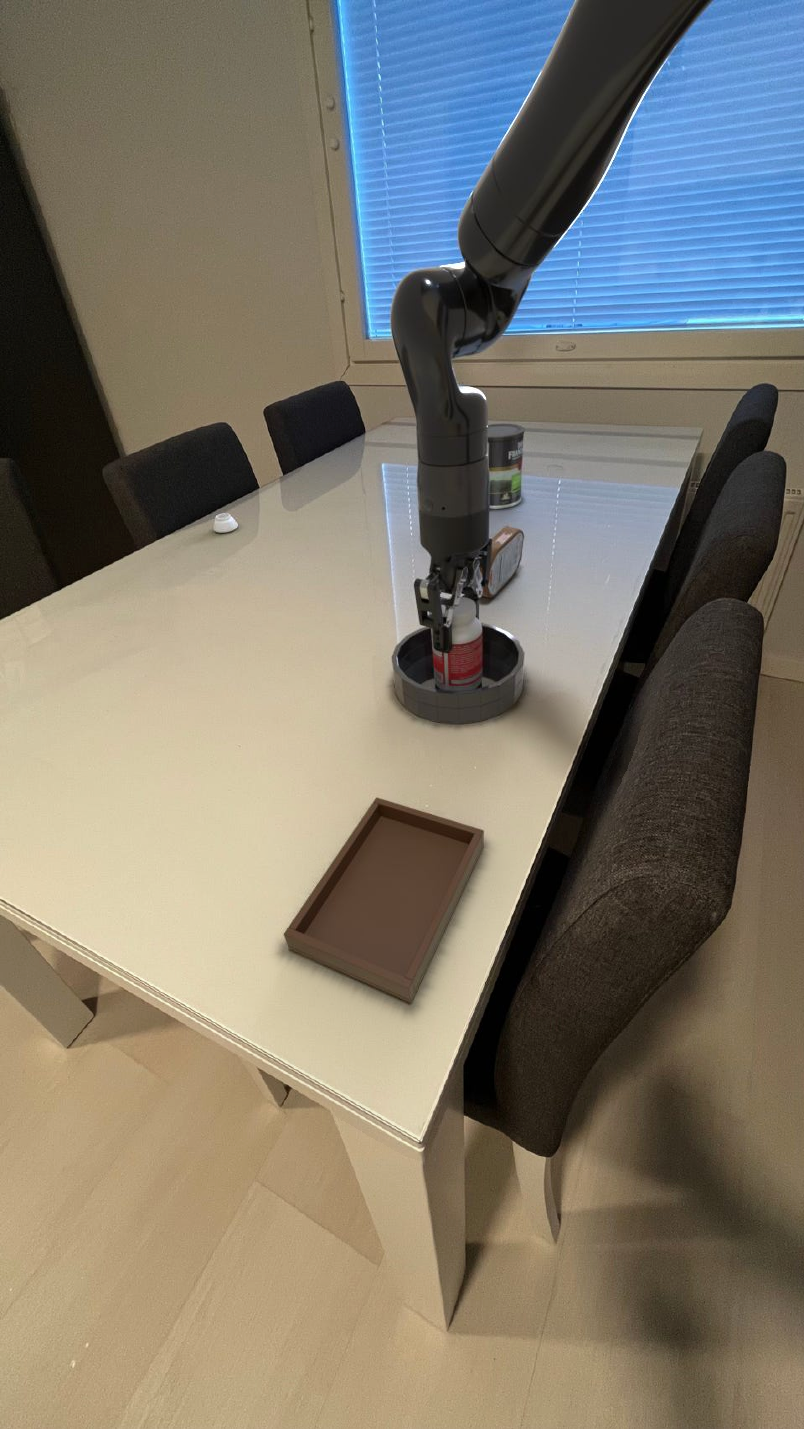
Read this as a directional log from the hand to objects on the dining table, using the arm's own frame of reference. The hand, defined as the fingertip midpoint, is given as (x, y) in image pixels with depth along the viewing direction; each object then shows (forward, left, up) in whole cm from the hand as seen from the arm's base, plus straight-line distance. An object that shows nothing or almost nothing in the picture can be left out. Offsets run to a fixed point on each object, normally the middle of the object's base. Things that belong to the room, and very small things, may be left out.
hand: (457, 636), depth 74 cm
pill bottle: (0, 0, -7) cm, 7 cm away
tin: (+14, -24, -7) cm, 29 cm away
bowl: (0, 0, -7) cm, 7 cm away
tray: (-18, +27, -7) cm, 33 cm away
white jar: (+75, -7, -7) cm, 76 cm away
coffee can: (+40, -53, -7) cm, 67 cm away
